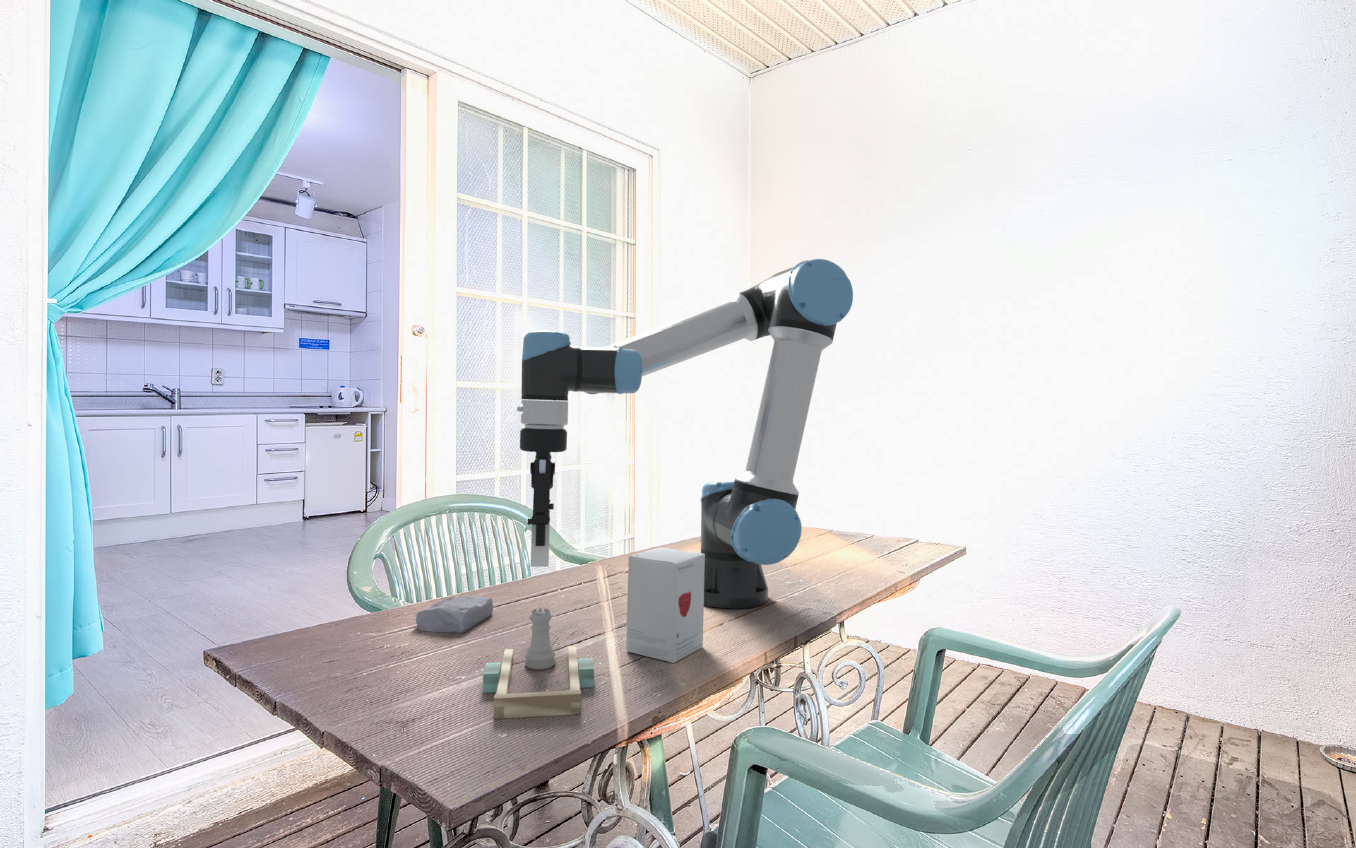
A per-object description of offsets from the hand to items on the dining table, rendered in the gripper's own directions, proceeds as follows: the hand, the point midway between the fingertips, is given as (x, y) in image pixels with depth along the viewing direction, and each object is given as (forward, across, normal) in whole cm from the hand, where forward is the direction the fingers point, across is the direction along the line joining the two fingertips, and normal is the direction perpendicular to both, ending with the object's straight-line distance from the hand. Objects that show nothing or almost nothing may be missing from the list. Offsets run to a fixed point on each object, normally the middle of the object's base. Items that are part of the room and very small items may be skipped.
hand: (540, 556), depth 116 cm
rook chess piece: (+13, +14, +1) cm, 19 cm away
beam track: (+13, +21, +1) cm, 25 cm away
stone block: (+14, -9, -15) cm, 22 cm away
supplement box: (+13, +10, +20) cm, 25 cm away
